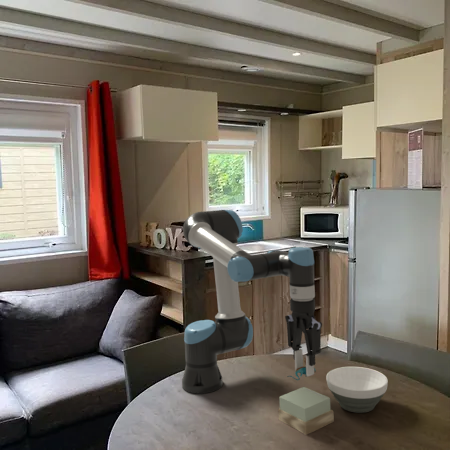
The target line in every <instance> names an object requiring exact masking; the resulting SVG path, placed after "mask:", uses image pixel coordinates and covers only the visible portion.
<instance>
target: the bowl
mask: <svg viewBox="0 0 450 450" xmlns="http://www.w3.org/2000/svg"><path fill="white" fill-rule="evenodd" d="M325 378H326V384H327V388H328V389H329V390H330V393H331V394H332V396H333V397H334V399H335V400H336V401H337V402H338V404H339V405H340V407H341V408H342V409H343V410H345V411H348V412H351V413H358V414H365V413H368V412H369V413H370V412H372V411H373V410H374V409H375V407H376V405H378V403H379V402H380V401H381V399H382V397H383V396H384V395H385V394H386V392H387V389H388V385H389V384H388V383H389V382H388V381H389V380H388V378H387V376H386V375H385V374H383V373H382V372H380V371H378V370H375V369H372V368H368V367H362V366H342V367H337V368H334V369H331V370H330V371H328V372H327V374H326V376H325Z"/></svg>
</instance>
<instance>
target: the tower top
mask: <svg viewBox="0 0 450 450" xmlns="http://www.w3.org/2000/svg"><path fill="white" fill-rule="evenodd" d="M278 401H279V408H280V409H281V410H283V411H285V412H287V413H288V414H290V415H292V416H294V417H296V418H298V419H300V420H302V421H304V422H307V421H309V420H311V419H313V418H315V417H317V416H319V415H322V414H324V413H326V412H328V411H330V409H331V398H330V397H329V396H327V395H324V394H321V393H319V392H317V391H315V390H313V389H310V388H308V387H305V386H303V387H300V388H297V389H295V390H292V391H290V392H288V393H285V394H282V395H280V396H279V400H278Z"/></svg>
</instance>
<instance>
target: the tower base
mask: <svg viewBox="0 0 450 450" xmlns="http://www.w3.org/2000/svg"><path fill="white" fill-rule="evenodd" d="M277 413H278V421H280V422H282V423H284V424H286V426H289V427H290V428H293V429H294V430H296V431H299V432H300V433H302V434H304V435H306V436H307V435H309V434H311V433H313V432H316V431H317V430H320V429H321V428H323V427H324V428H325V426H328V425H330V424H332V423H334V420H335V419H334V418H335V417H334V410H333V409H331V408H330V411H328V412H326V413H324V414H322V415H319V416H317V417H315V418H313V419H311V420H309V421H307V422H304V421H302V420H300V419H298V418H296V417H294V416H292V415H290V414H288V413H287V412H285V411H283V410H281V409H280V407H279V408H278V409H277Z"/></svg>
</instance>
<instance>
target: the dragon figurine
mask: <svg viewBox="0 0 450 450" xmlns="http://www.w3.org/2000/svg"><path fill="white" fill-rule="evenodd" d="M303 363H304V366H303V367H300V368H298V369H296V371H295V370H294V373H295V376H296V377H297V378H298V379H297V378H295V377H294V376H292V375H288V376H287V378H288V377H291V378H292V379H294V380H296V381H300V378H301V377H302V376H303V375H305V377H308V376H306V355H305V357H304V360H303ZM316 372H317V370H316V367H314V374H316ZM298 374H300V375H298ZM299 376H300V377H299Z"/></svg>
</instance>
